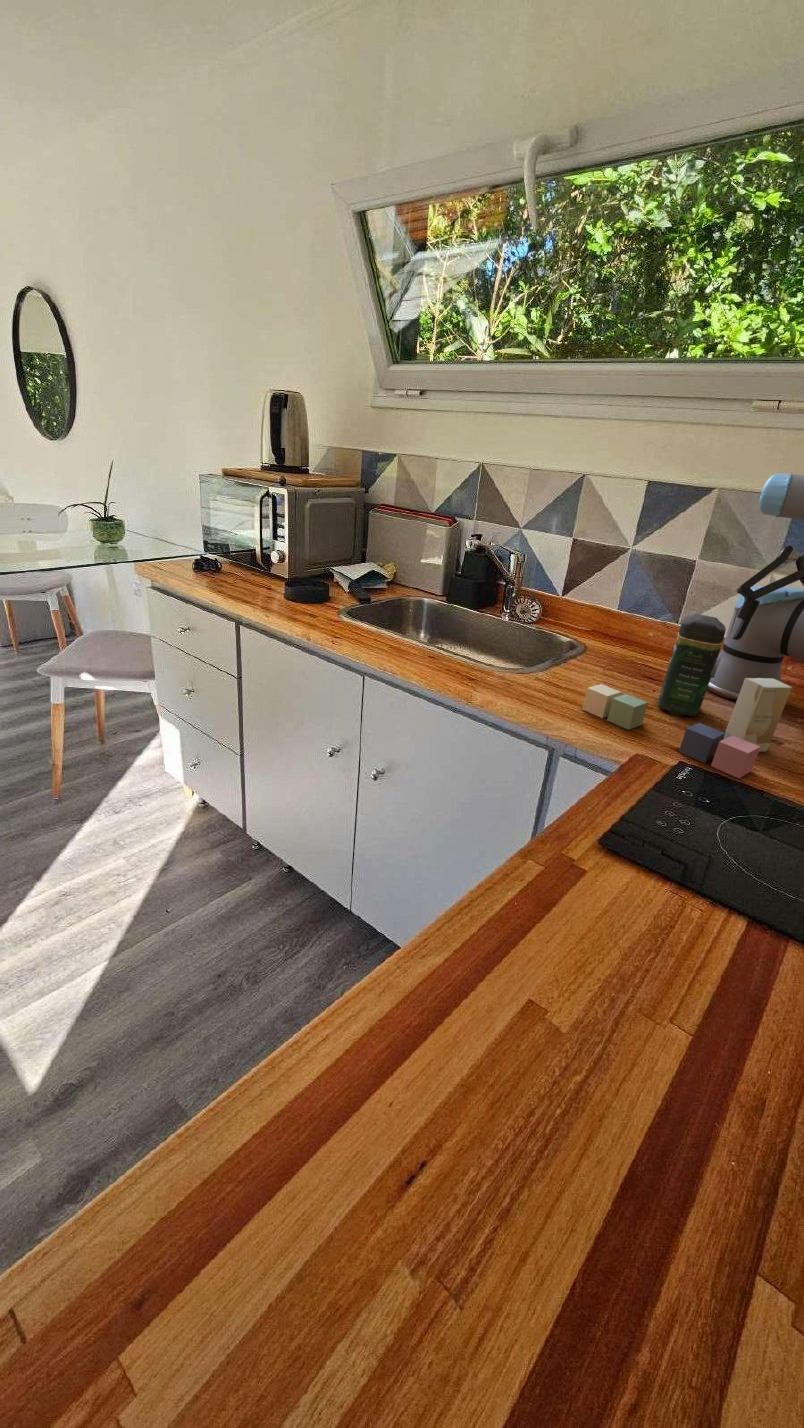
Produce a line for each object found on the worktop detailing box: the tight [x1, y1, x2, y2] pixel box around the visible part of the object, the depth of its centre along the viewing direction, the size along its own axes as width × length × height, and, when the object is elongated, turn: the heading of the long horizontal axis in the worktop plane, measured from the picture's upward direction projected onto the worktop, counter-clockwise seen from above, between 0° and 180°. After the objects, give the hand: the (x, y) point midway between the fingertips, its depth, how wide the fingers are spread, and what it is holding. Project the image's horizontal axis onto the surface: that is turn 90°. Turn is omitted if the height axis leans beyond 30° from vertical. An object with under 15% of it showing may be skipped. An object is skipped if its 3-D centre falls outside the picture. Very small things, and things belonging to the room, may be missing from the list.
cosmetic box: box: [723, 678, 793, 753], centre depth 102 cm, size 6×4×12 cm
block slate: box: [678, 722, 725, 764], centre depth 99 cm, size 4×4×4 cm
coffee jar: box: [657, 613, 727, 717], centre depth 115 cm, size 10×8×19 cm
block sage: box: [606, 693, 649, 731], centre depth 108 cm, size 4×4×4 cm
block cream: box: [581, 683, 622, 719], centre depth 112 cm, size 4×4×4 cm
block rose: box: [710, 736, 760, 779], centre depth 95 cm, size 4×4×4 cm
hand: (778, 655), depth 98 cm, fingers open, 13 cm apart
